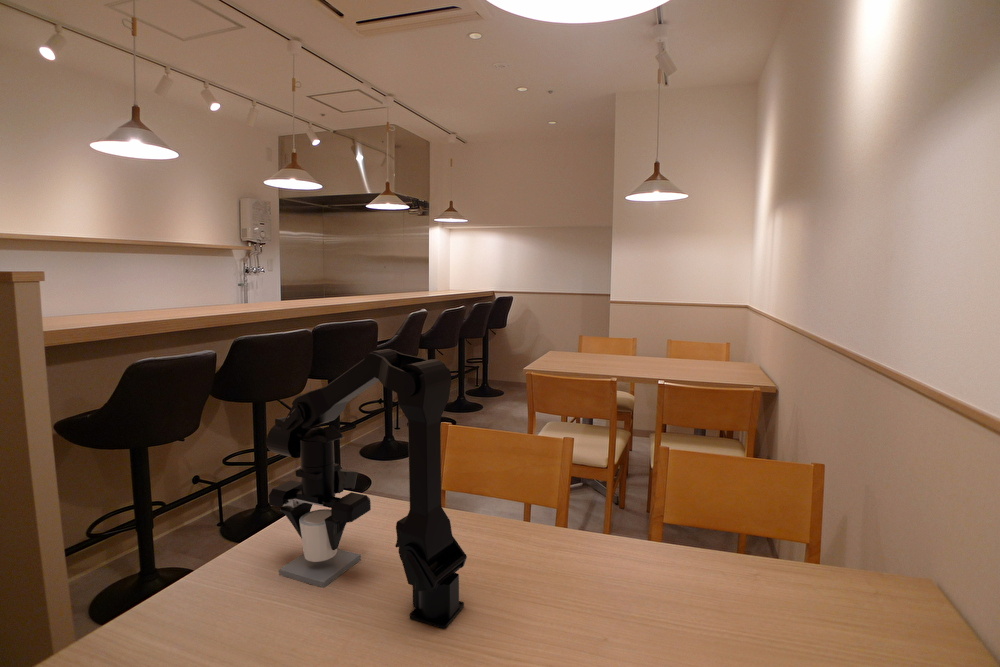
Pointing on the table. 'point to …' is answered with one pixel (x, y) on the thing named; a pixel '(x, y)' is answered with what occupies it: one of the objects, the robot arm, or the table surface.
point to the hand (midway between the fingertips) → (320, 545)
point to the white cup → (316, 536)
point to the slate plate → (320, 568)
